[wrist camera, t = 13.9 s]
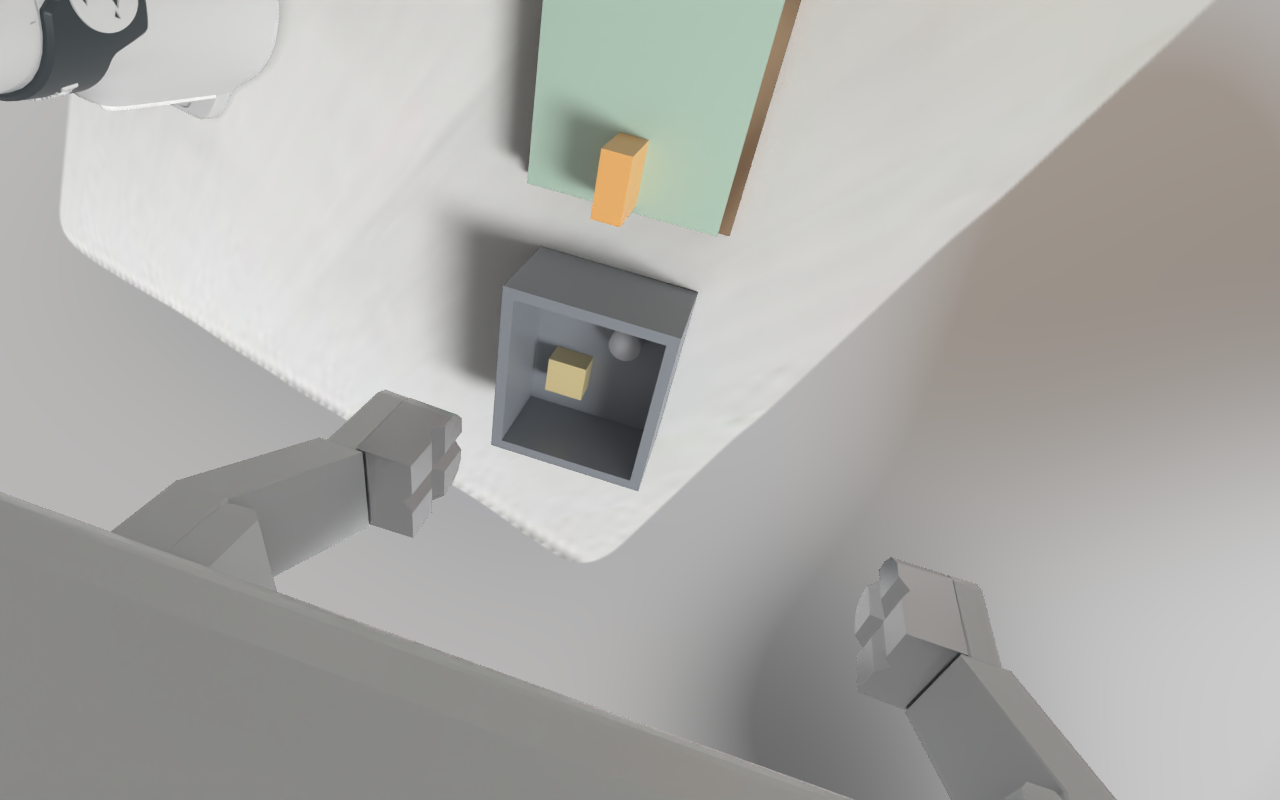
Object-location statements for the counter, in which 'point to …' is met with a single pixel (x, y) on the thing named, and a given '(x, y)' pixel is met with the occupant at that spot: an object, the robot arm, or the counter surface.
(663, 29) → the lid
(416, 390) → the counter surface
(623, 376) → the tub
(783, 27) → the pad
